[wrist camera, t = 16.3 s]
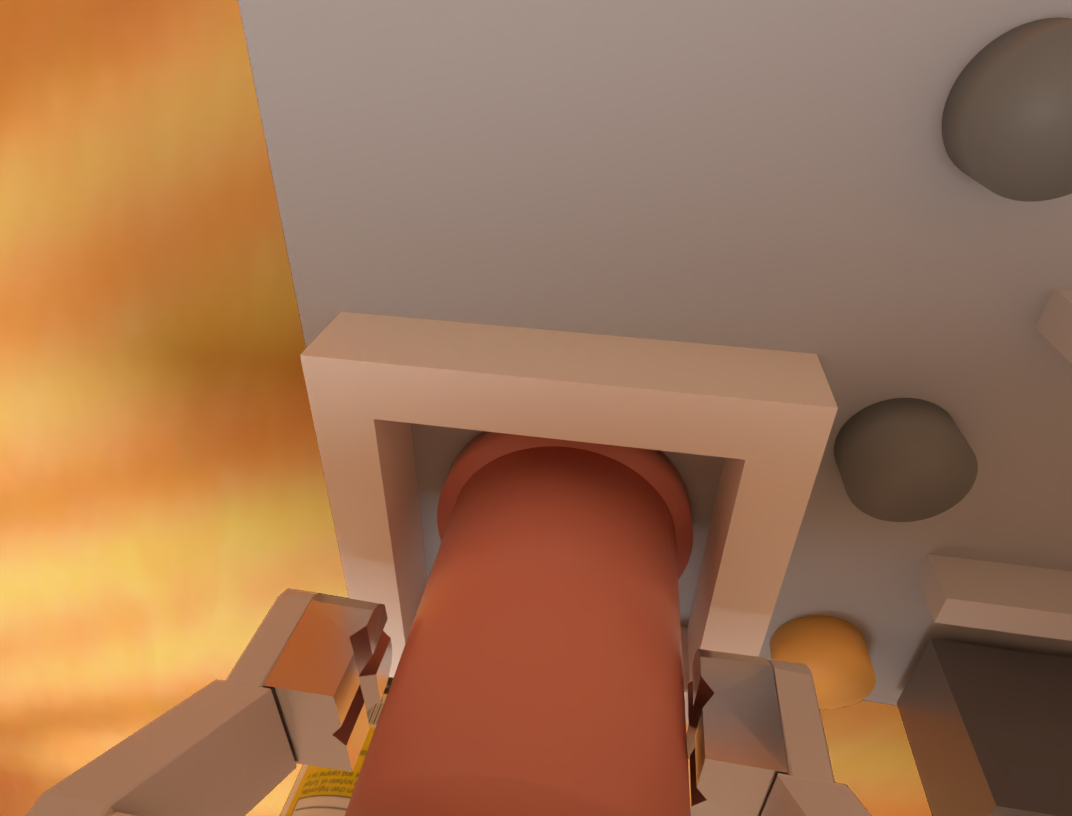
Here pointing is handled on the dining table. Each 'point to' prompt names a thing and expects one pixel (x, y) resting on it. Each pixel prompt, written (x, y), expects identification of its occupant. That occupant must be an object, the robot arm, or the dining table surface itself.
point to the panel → (702, 294)
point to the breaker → (991, 730)
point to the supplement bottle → (330, 779)
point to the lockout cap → (543, 642)
